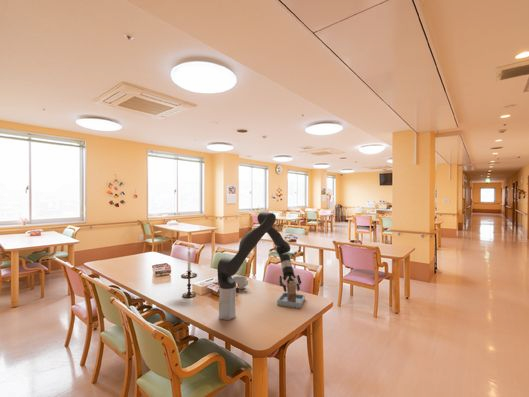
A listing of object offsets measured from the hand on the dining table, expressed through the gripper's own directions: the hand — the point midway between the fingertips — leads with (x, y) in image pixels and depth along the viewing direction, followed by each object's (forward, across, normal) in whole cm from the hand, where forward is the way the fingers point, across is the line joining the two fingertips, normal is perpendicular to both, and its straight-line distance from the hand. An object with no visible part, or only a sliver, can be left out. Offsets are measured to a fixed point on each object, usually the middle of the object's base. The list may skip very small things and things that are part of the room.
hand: (292, 291), depth 171 cm
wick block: (+4, 0, +6) cm, 7 cm away
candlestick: (-12, -67, +24) cm, 72 cm away
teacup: (-18, -30, +29) cm, 45 cm away
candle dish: (+4, 0, +6) cm, 8 cm away
